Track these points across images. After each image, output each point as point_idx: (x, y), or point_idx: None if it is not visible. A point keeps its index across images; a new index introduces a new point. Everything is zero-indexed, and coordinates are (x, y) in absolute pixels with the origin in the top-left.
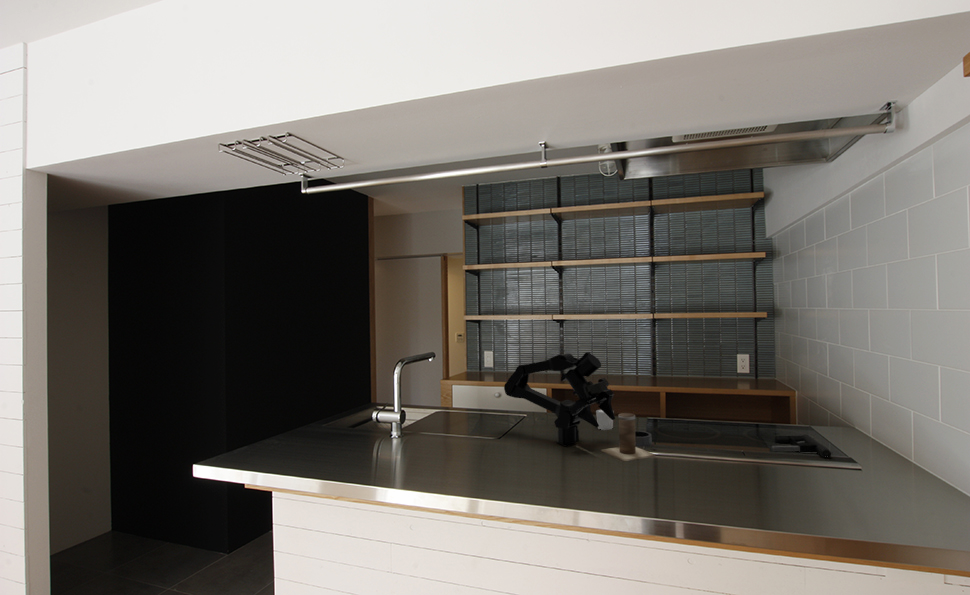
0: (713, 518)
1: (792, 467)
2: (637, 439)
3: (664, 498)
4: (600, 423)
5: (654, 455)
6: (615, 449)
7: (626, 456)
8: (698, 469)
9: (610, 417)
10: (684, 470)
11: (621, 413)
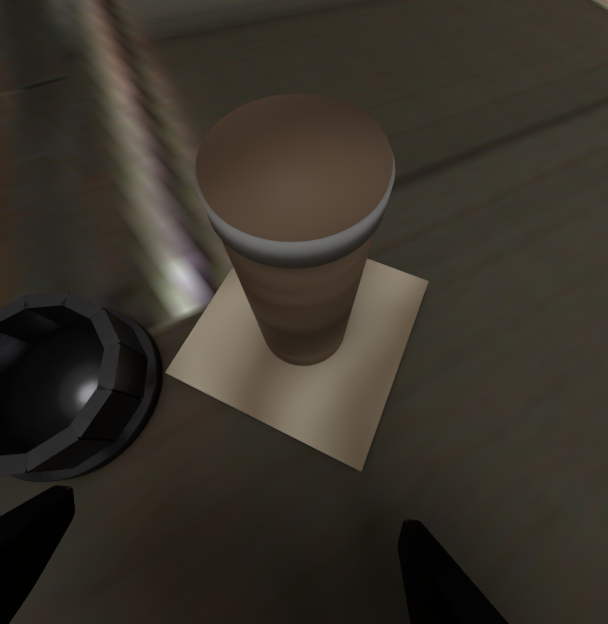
0: (580, 12)
1: (133, 2)
2: (124, 339)
3: (583, 91)
4: None
5: None
6: (300, 401)
7: (376, 294)
8: None
9: (38, 567)
10: None
11: (261, 228)
